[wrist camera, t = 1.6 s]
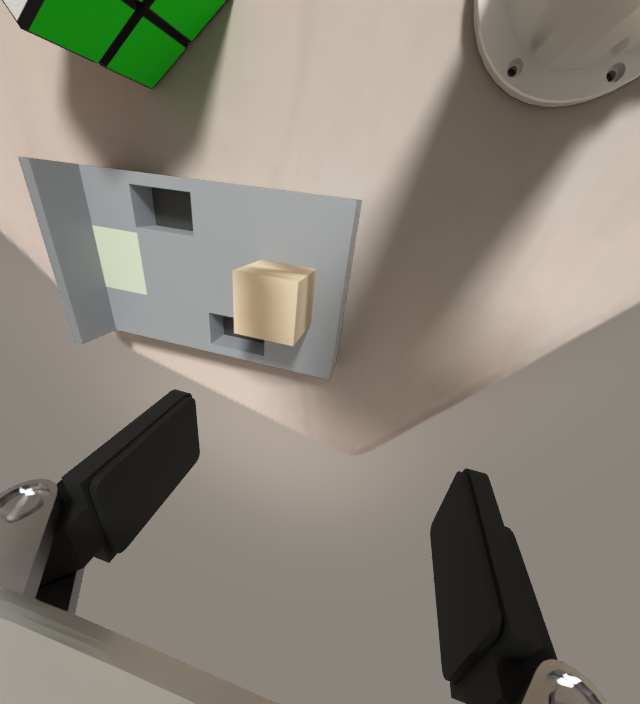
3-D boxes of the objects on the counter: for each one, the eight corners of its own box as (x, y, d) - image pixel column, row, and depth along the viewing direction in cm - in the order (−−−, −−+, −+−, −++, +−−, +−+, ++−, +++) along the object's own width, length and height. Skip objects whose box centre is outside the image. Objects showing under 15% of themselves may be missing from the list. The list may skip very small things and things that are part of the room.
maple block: (316, 269, 25) (298, 282, 21) (310, 323, 27) (293, 346, 23) (261, 259, 26) (232, 270, 21) (260, 313, 28) (234, 333, 24)
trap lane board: (361, 200, 24) (348, 198, 18) (335, 365, 32) (319, 403, 26) (99, 166, 29) (17, 156, 23) (129, 319, 36) (74, 342, 30)
